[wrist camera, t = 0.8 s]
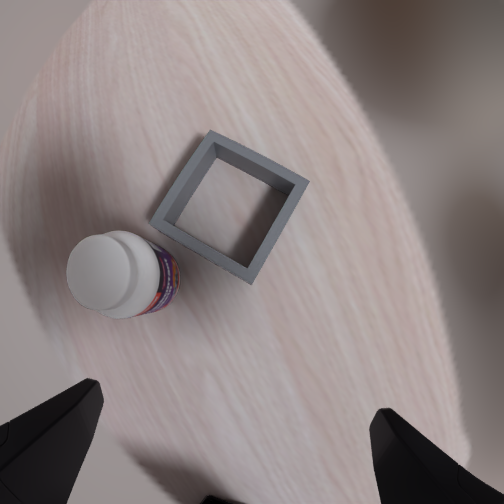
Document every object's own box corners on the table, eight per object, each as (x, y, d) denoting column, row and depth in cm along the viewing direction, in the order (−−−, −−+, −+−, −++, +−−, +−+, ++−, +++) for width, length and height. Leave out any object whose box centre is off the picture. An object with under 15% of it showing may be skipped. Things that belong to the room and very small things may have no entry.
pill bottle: (169, 321, 24) (123, 341, 14) (112, 297, 24) (45, 300, 14) (191, 258, 24) (157, 239, 15) (133, 236, 24) (74, 208, 15)
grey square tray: (251, 284, 24) (252, 284, 21) (159, 231, 24) (148, 223, 21) (302, 193, 25) (309, 181, 22) (213, 146, 25) (210, 129, 22)
